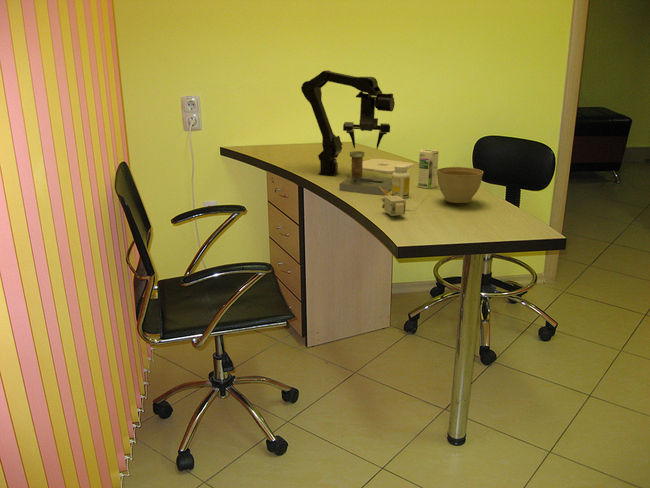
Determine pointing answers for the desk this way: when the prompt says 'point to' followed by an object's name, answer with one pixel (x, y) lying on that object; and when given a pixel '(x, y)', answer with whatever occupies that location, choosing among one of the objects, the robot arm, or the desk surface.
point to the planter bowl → (459, 183)
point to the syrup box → (428, 168)
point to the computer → (383, 165)
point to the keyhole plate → (366, 185)
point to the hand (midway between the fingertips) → (365, 148)
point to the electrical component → (393, 204)
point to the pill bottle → (400, 181)
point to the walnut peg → (357, 162)
